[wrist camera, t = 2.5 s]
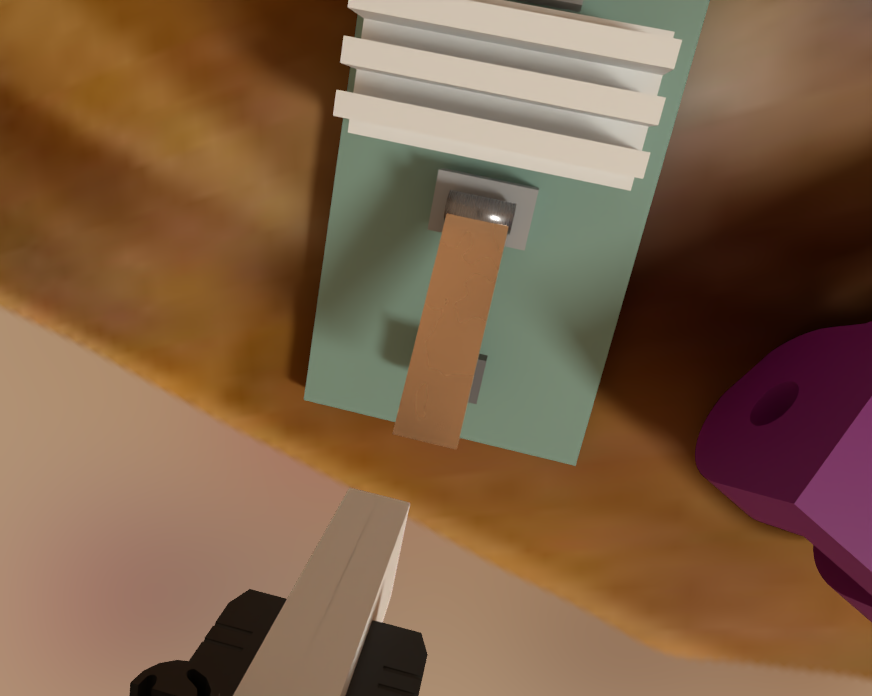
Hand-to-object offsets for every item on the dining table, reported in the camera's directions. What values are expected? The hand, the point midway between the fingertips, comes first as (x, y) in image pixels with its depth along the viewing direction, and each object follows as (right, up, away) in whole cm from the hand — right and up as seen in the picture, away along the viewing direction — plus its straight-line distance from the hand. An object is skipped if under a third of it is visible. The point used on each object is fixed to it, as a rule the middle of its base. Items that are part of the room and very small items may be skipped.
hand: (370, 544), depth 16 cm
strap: (+2, +6, +10) cm, 12 cm away
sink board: (+5, +15, +12) cm, 20 cm away
